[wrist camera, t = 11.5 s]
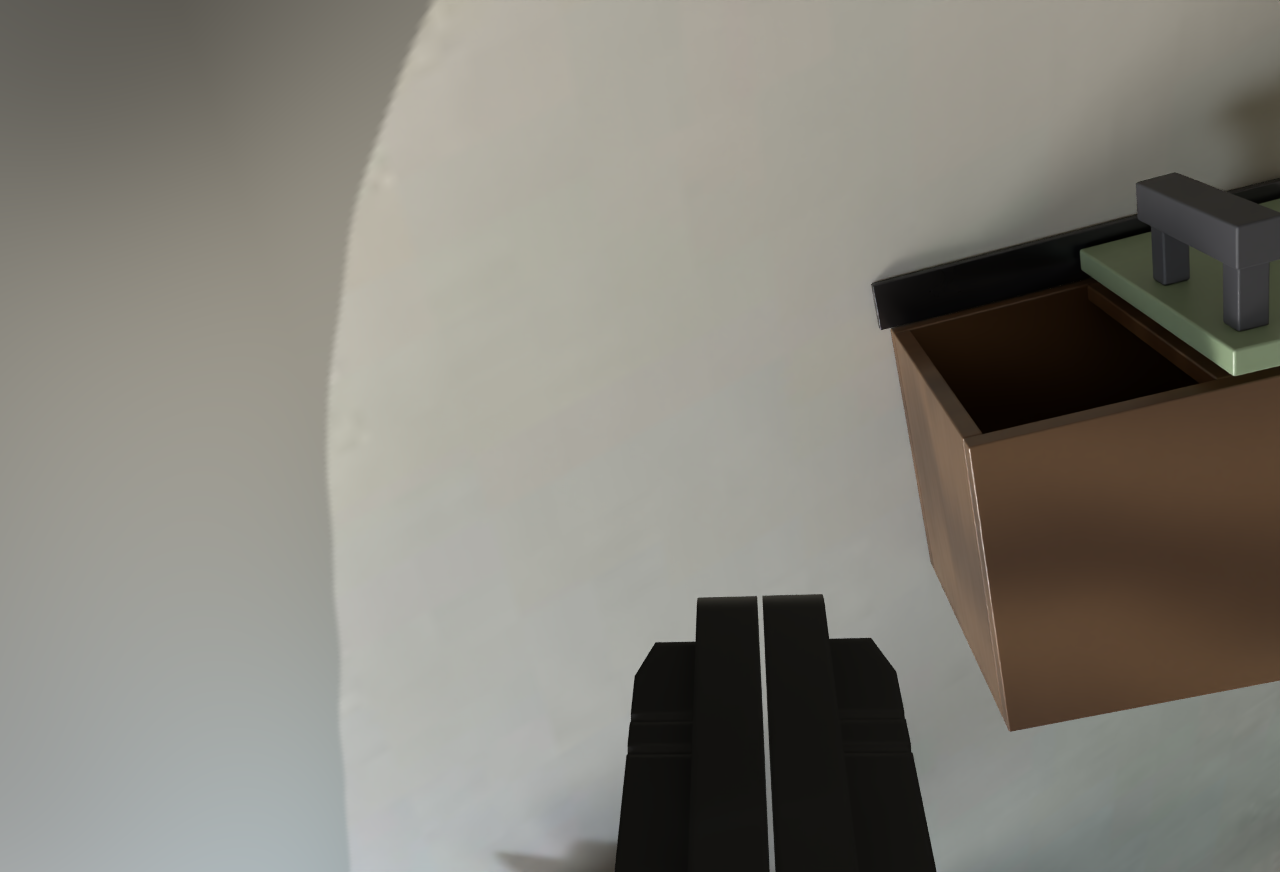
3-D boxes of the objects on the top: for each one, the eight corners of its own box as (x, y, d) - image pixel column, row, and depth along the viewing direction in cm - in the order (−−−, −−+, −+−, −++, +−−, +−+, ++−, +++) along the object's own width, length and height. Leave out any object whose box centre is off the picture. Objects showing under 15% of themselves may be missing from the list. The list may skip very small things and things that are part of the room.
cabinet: (870, 283, 35) (945, 391, 26) (1293, 173, 33) (1533, 249, 24) (921, 564, 40) (996, 734, 31) (1285, 485, 38) (1479, 643, 29)
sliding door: (1071, 163, 32) (1232, 236, 23) (1306, 100, 31) (1571, 151, 22) (1080, 270, 34) (1233, 377, 25) (1303, 213, 33) (1548, 304, 24)
